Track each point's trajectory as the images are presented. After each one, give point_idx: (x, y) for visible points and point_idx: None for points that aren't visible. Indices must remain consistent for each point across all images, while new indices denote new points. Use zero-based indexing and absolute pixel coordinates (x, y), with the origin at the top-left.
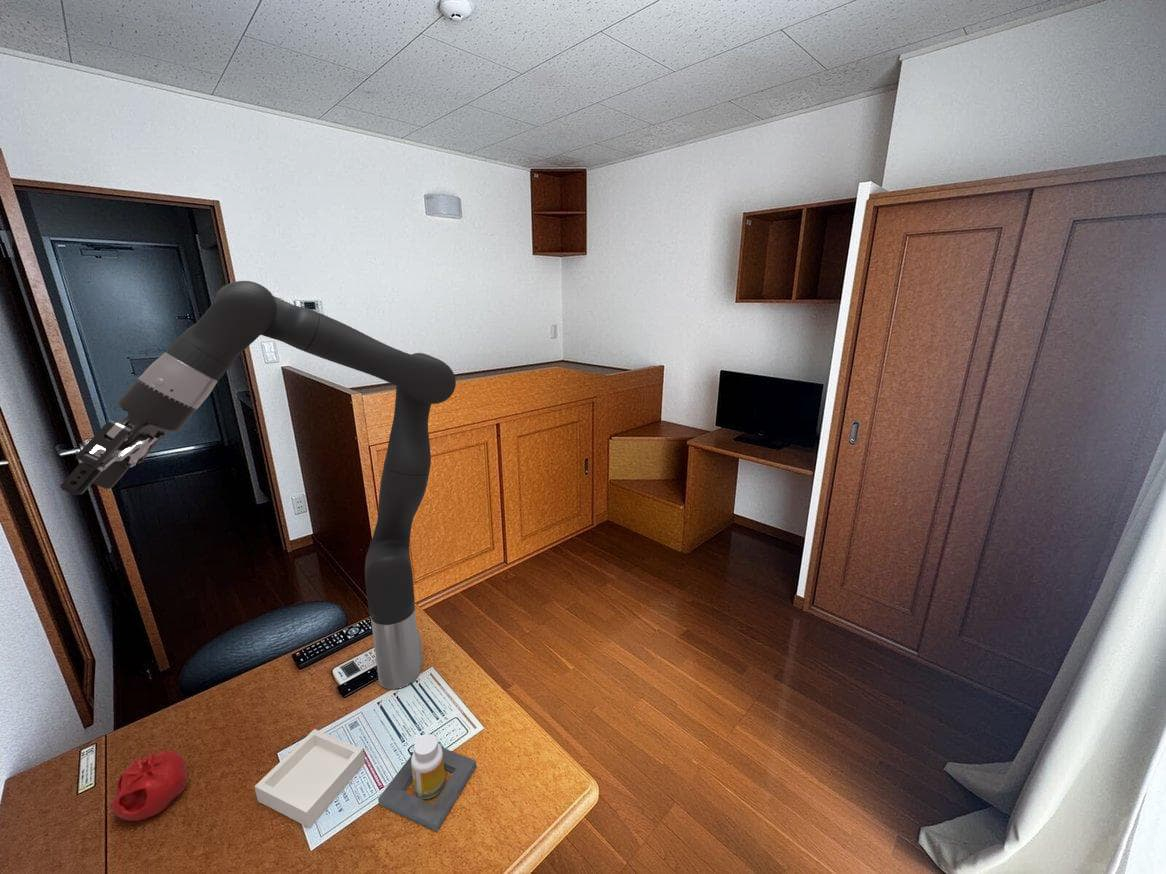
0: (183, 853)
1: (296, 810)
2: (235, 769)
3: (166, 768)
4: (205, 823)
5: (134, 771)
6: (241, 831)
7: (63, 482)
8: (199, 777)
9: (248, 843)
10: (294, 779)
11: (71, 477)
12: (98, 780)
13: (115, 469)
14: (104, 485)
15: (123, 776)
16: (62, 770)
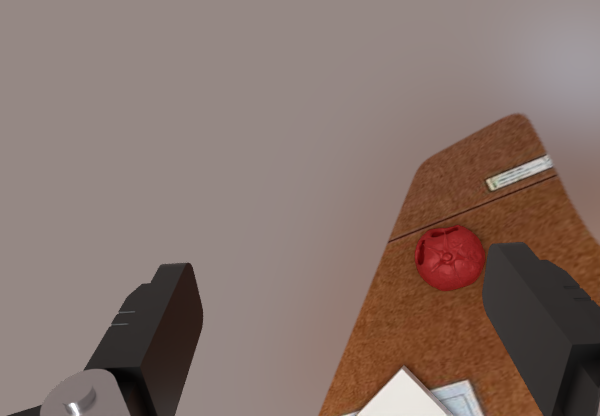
0: (372, 304)
1: (359, 412)
2: (459, 334)
3: (445, 276)
4: (397, 317)
5: (446, 246)
6: (374, 353)
7: (154, 277)
8: (461, 296)
9: (359, 361)
10: (412, 404)
11: (112, 324)
12: (498, 191)
13: (540, 357)
14: (488, 291)
15: (449, 234)
16: (529, 146)
